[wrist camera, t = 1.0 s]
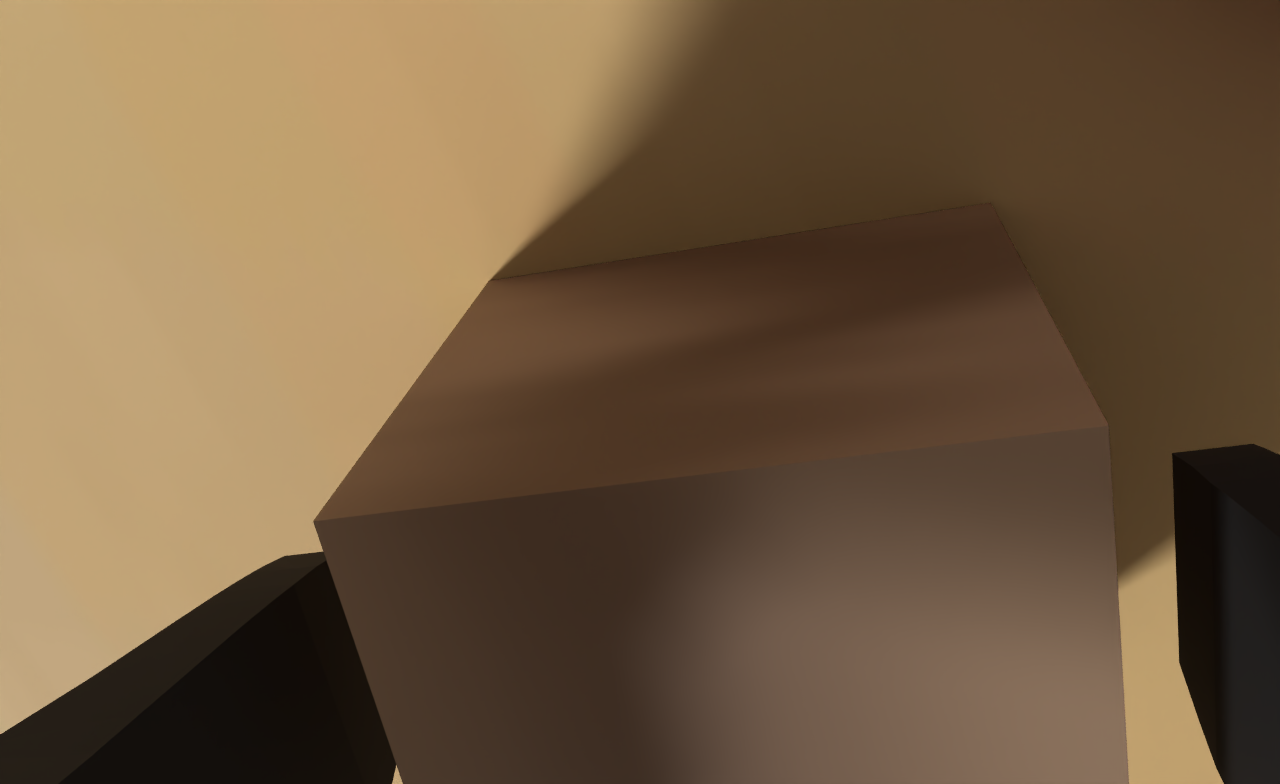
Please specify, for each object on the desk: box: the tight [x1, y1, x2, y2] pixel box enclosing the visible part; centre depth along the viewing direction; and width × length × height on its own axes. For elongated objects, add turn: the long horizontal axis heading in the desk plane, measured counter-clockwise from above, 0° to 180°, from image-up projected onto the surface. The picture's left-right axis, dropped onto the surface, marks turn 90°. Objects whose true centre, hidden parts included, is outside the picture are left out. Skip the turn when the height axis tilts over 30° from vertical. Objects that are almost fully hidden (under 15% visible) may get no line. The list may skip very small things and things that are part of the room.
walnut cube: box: [313, 203, 1129, 784], centre depth 11 cm, size 5×5×5 cm
